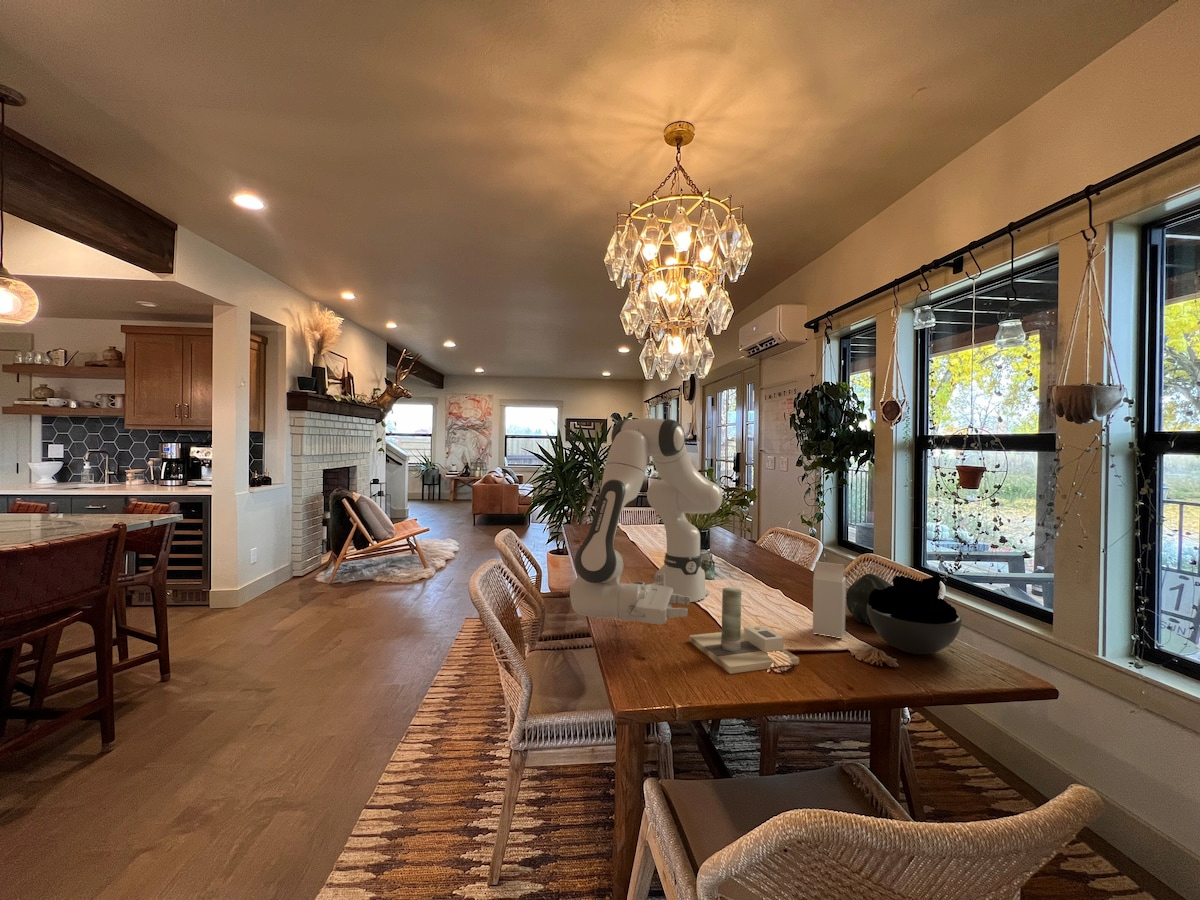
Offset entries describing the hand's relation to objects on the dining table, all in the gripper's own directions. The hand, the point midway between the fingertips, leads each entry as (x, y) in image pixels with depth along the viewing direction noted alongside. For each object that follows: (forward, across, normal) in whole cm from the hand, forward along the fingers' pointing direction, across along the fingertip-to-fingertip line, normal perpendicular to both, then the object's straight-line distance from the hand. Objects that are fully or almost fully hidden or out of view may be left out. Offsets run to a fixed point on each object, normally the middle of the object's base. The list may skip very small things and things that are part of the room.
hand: (688, 606), depth 128 cm
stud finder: (+18, +5, +9) cm, 21 cm away
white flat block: (+13, +3, +11) cm, 17 cm away
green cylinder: (+10, 0, +9) cm, 14 cm away
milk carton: (+36, +22, +11) cm, 44 cm away
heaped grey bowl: (+54, +14, +11) cm, 56 cm away
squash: (+51, +35, +11) cm, 62 cm away
